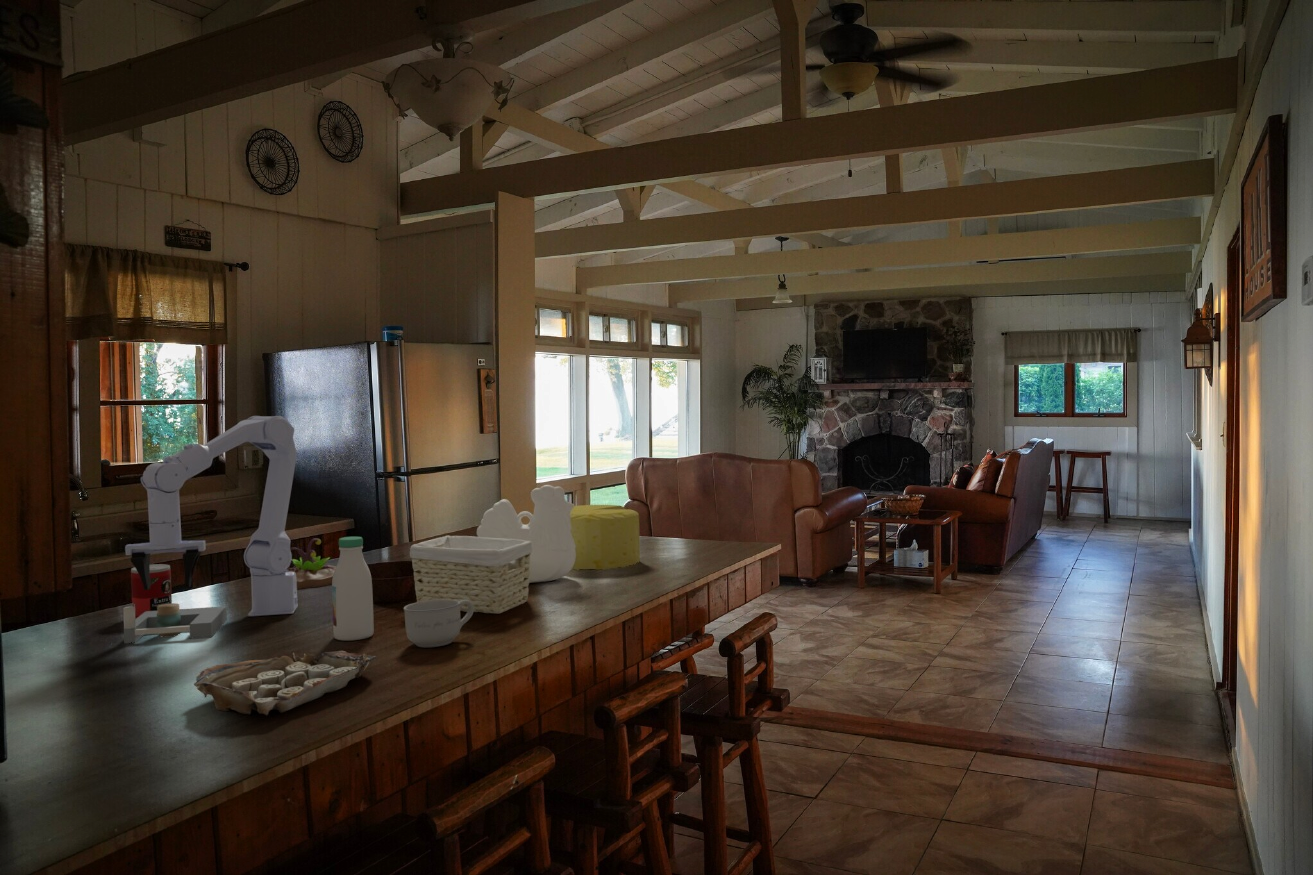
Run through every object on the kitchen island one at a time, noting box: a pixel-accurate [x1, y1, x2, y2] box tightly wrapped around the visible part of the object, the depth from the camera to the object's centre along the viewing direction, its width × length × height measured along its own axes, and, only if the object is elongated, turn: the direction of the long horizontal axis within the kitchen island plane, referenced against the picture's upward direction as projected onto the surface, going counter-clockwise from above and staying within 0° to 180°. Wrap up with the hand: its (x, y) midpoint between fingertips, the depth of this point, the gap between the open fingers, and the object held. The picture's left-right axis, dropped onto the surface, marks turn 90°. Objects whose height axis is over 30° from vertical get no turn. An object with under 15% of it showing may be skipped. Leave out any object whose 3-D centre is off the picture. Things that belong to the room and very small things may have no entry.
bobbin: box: [157, 602, 181, 637], centre depth 192 cm, size 4×4×6 cm
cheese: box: [570, 504, 641, 570], centre depth 268 cm, size 26×26×15 cm
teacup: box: [403, 599, 475, 649], centre depth 183 cm, size 14×11×8 cm
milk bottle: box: [331, 536, 375, 642], centre depth 188 cm, size 8×8×20 cm
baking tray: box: [193, 650, 377, 716], centre depth 155 cm, size 30×22×5 cm
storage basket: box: [409, 534, 532, 614], centre depth 215 cm, size 24×16×15 cm
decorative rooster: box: [476, 484, 576, 584], centre depth 242 cm, size 25×16×25 cm, turn 75°
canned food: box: [130, 563, 173, 619], centre depth 209 cm, size 8×8×11 cm
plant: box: [287, 537, 337, 590], centre depth 247 cm, size 20×20×11 cm
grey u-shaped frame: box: [123, 605, 228, 644], centre depth 195 cm, size 16×16×7 cm
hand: (167, 587), depth 192 cm, fingers open, 7 cm apart
